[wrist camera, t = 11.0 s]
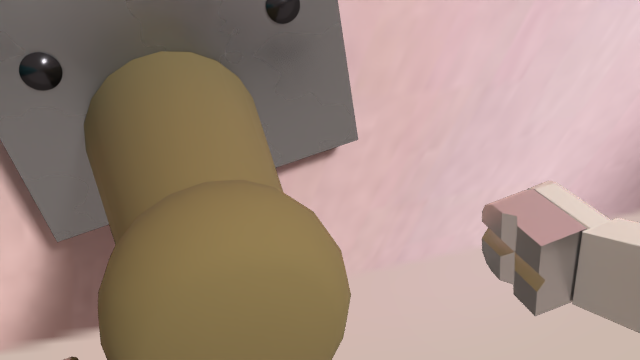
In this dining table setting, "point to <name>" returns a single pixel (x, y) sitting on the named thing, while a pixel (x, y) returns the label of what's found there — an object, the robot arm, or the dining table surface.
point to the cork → (204, 224)
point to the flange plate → (147, 38)
